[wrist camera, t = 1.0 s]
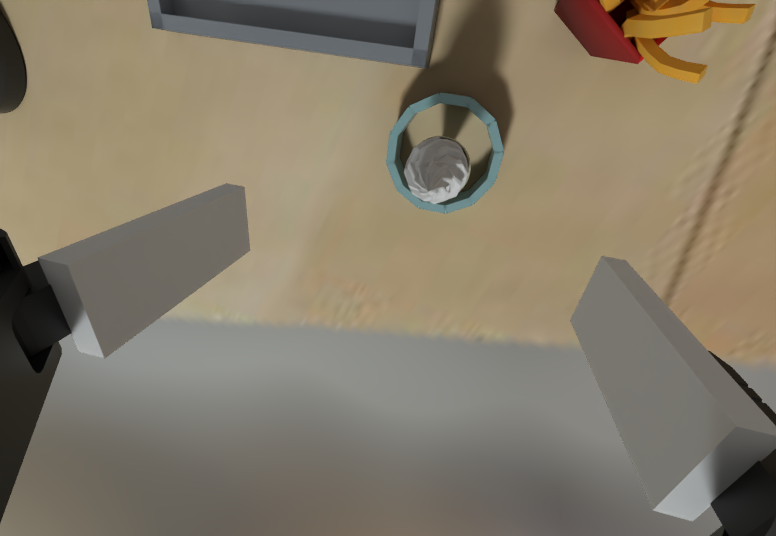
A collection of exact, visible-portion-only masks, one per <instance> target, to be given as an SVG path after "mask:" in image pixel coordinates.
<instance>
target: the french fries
mask: <svg viewBox="0 0 776 536" xmlns="http://www.w3.org/2000/svg"><path fill="white" fill-rule="evenodd" d="M755 5H756V4H726V3H716V2H713V1H710V0H560V1H559V3H558V4H557V6H556V8H555V10H554V11H555V13H556V14H557V15H558V16H559V18H560V19H561V20H562V21H563V22H564V24H565V25H566V26H567V27H568V29H569V30H570V31H571V32H572V33H573V35H574V36H575V37H576V38H577V39H578V41H579V42H580V43H581V44H582V46H583V47H584V48H585V49H586V50H587V52H588V53H589V54H590V55H591V56H594V57H600V58H606V59H612V60H618V61H623V62H629V63H635V64H638V63H639V62H641V61H642V60H643V59H645V60H646V62H647V63H648V64H649V65H651V66H652V67H653V68H654V69H655V70H656V71H657V72H658V73H661V74H664V75H667V76H670V77H672V78H675V79H679V80H683V81H688V82H692V83H696V84H697V83H698V82H699V81H700V80H701V79H702V78H703V76H704V75H705V72H706V69H707V65H702V64H697V63H691V62H686V61H683V60H680V59H677V58H674V57H671V56H669V55H668V54H667V53H666V52H664V51H663V50H662V49H661V48H660V47H659V46H658V45H660V44H661V43H662V42H663V41H664V40H665V39H666V38H667V37H671V36H679V35H686V34H693V33H700V32H703V31H705V30H706V29H708V28H710V27H711V22H721V23H745V22H746V21H748V20H749V19H750V17H751V15H752V12H753V10H754V7H755Z"/></svg>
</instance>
